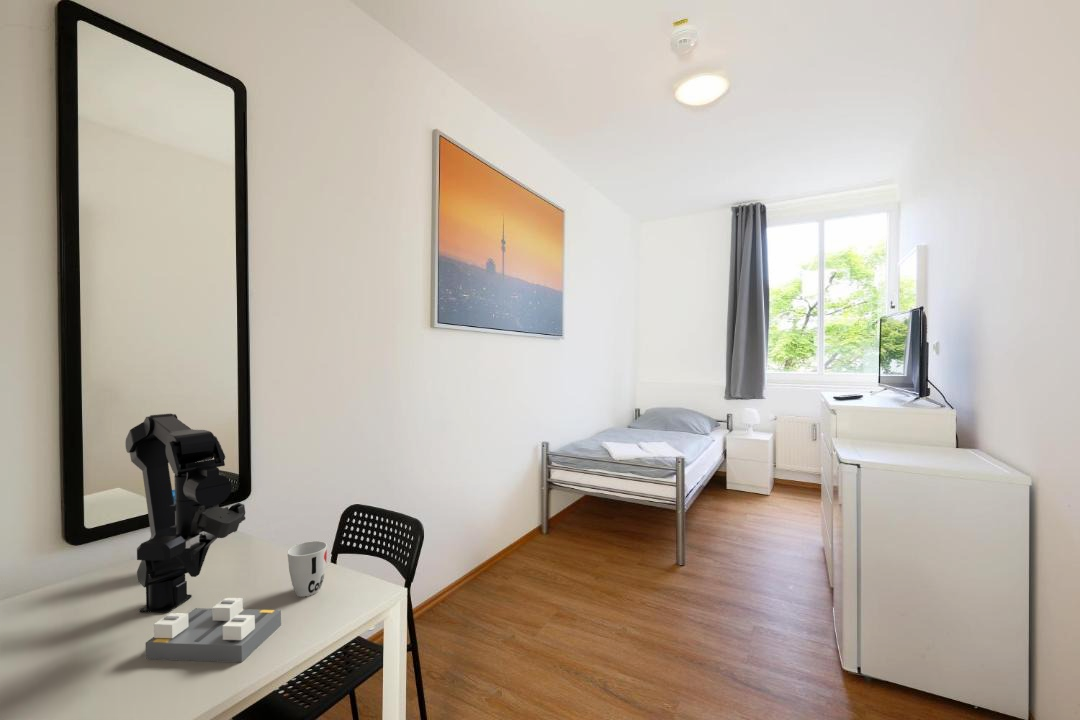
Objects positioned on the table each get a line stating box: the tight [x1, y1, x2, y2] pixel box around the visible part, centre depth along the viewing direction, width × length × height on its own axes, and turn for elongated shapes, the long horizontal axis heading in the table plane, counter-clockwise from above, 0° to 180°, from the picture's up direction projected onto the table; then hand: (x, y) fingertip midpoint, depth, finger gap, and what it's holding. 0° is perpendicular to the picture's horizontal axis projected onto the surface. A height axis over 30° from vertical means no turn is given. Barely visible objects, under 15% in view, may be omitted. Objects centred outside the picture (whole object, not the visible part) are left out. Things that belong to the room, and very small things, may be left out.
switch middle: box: [212, 597, 244, 621], centre depth 89 cm, size 4×4×3 cm
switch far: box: [223, 615, 255, 640], centre depth 83 cm, size 4×4×3 cm
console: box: [145, 607, 282, 663], centre depth 86 cm, size 18×11×3 cm, turn 87°
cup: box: [287, 540, 328, 598], centre depth 104 cm, size 8×8×10 cm
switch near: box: [153, 612, 189, 638], centre depth 83 cm, size 4×4×3 cm
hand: (195, 575), depth 88 cm, fingers closed
